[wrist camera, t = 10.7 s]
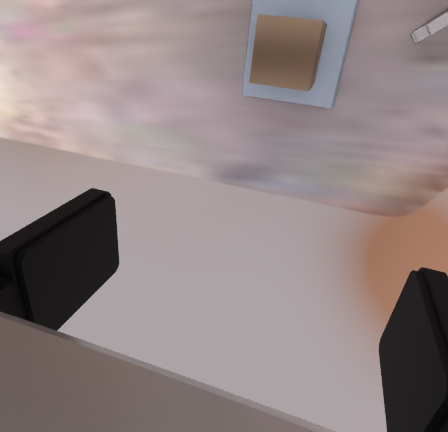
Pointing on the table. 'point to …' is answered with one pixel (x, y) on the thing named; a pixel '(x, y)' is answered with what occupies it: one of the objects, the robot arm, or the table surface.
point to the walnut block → (287, 51)
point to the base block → (330, 55)
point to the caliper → (430, 27)
